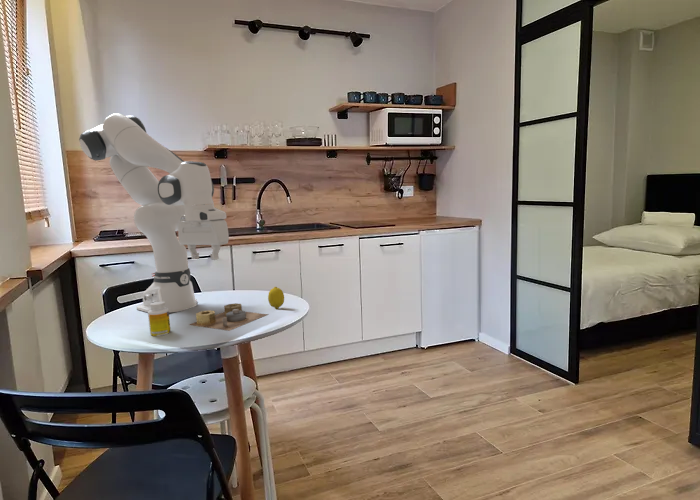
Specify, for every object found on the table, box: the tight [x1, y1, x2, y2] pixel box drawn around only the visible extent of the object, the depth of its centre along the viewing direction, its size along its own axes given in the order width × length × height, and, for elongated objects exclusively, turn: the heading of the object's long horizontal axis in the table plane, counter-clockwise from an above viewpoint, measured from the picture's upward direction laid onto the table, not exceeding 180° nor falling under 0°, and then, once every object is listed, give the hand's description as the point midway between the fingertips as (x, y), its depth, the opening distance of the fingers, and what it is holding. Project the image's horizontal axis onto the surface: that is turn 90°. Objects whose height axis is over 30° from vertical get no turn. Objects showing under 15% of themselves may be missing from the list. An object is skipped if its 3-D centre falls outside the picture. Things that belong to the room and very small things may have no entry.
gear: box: [195, 309, 216, 325], centre depth 143 cm, size 6×6×3 cm
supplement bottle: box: [147, 301, 172, 337], centre depth 134 cm, size 6×6×10 cm
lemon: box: [267, 286, 285, 310], centre depth 159 cm, size 6×6×8 cm
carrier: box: [188, 303, 269, 332], centre depth 145 cm, size 17×18×4 cm
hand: (205, 259), depth 141 cm, fingers open, 8 cm apart
